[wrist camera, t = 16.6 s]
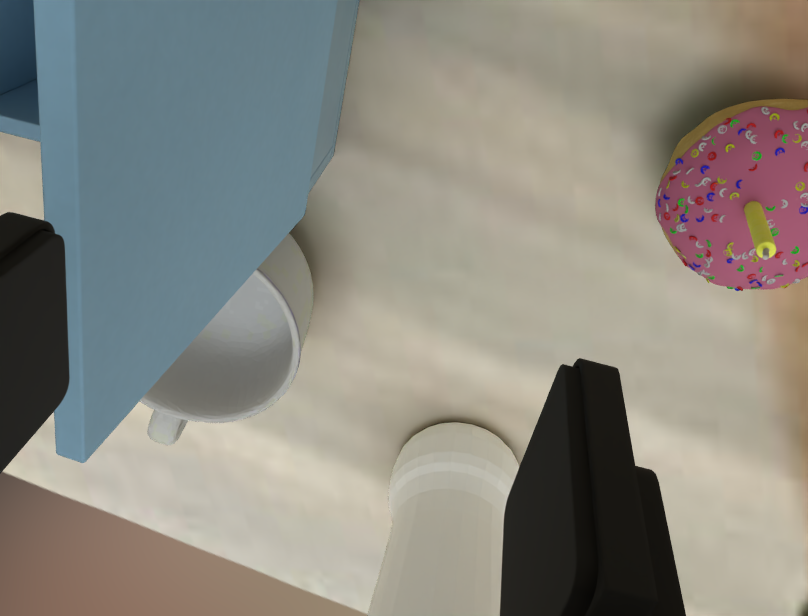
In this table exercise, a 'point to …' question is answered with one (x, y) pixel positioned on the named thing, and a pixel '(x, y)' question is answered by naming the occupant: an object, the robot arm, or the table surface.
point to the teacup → (239, 351)
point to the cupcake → (741, 196)
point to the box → (18, 89)
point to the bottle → (446, 524)
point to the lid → (167, 174)
